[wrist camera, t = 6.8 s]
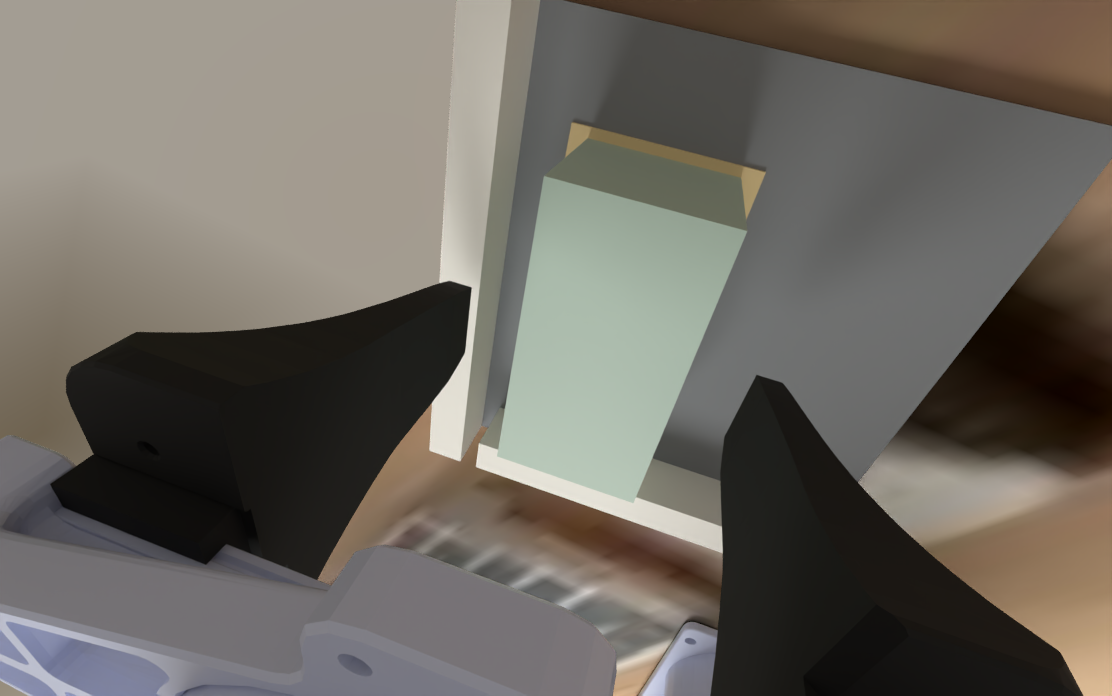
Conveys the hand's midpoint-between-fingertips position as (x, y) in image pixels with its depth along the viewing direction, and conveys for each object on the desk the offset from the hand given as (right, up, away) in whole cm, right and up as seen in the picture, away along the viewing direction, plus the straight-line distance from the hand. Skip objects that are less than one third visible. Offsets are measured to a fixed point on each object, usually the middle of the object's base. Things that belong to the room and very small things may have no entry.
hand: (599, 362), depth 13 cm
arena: (+3, +1, +3) cm, 4 cm away
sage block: (+1, +2, +3) cm, 3 cm away
